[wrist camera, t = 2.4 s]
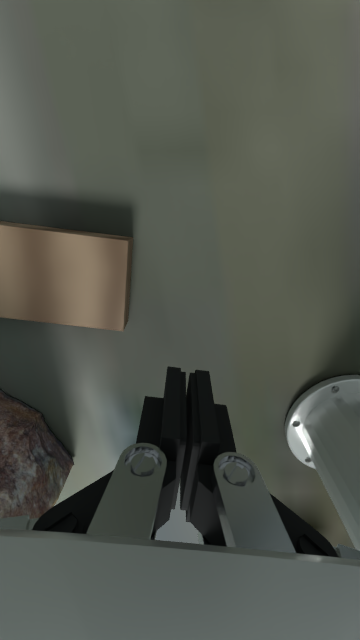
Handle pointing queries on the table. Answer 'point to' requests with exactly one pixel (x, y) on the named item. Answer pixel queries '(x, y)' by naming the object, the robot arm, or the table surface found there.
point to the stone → (29, 461)
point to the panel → (64, 276)
